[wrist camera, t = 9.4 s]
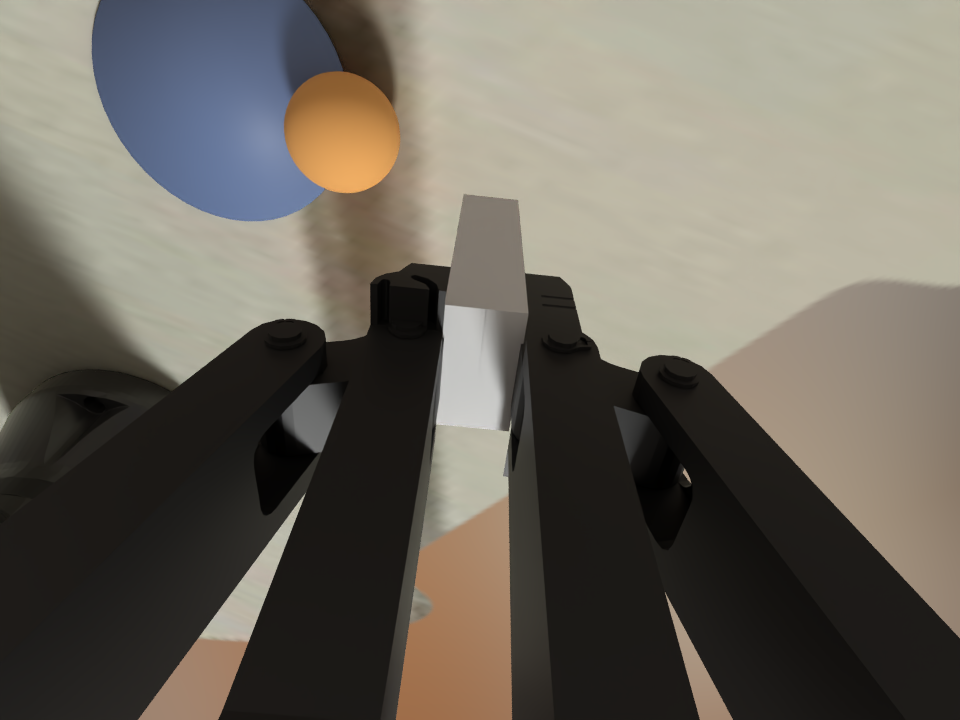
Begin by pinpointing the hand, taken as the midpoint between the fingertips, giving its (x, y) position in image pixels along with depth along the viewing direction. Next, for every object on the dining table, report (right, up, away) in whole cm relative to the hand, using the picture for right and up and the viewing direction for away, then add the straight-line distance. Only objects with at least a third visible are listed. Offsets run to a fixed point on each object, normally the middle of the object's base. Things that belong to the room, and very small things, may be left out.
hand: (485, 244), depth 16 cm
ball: (-7, +8, +12) cm, 15 cm away
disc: (-13, +10, +13) cm, 22 cm away
